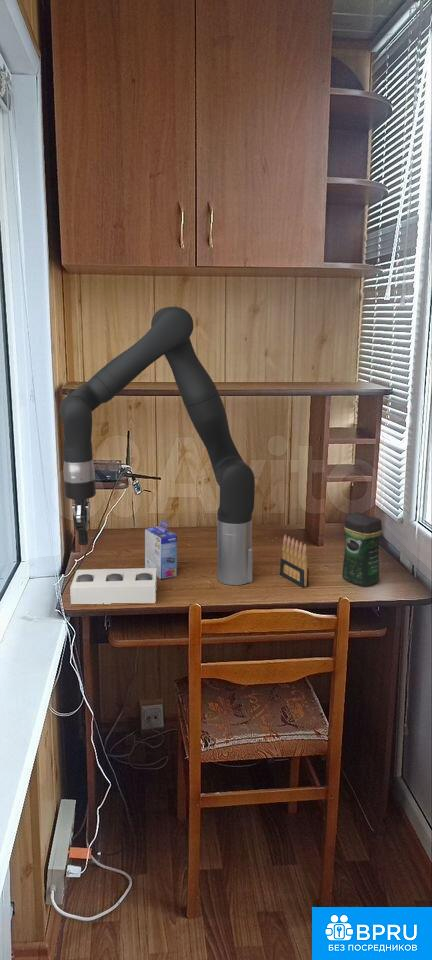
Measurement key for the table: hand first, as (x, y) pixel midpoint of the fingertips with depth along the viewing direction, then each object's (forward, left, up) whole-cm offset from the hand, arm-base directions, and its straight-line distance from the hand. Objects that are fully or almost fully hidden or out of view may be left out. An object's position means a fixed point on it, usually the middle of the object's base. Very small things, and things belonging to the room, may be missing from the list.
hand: (83, 544), depth 178 cm
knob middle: (-7, 0, -13) cm, 15 cm away
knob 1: (0, 0, -13) cm, 13 cm away
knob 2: (-15, 0, -13) cm, 20 cm away
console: (-7, 0, -14) cm, 16 cm away
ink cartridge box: (-19, -15, -15) cm, 28 cm away
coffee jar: (-73, -6, -15) cm, 75 cm away
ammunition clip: (-55, -7, -15) cm, 57 cm away
